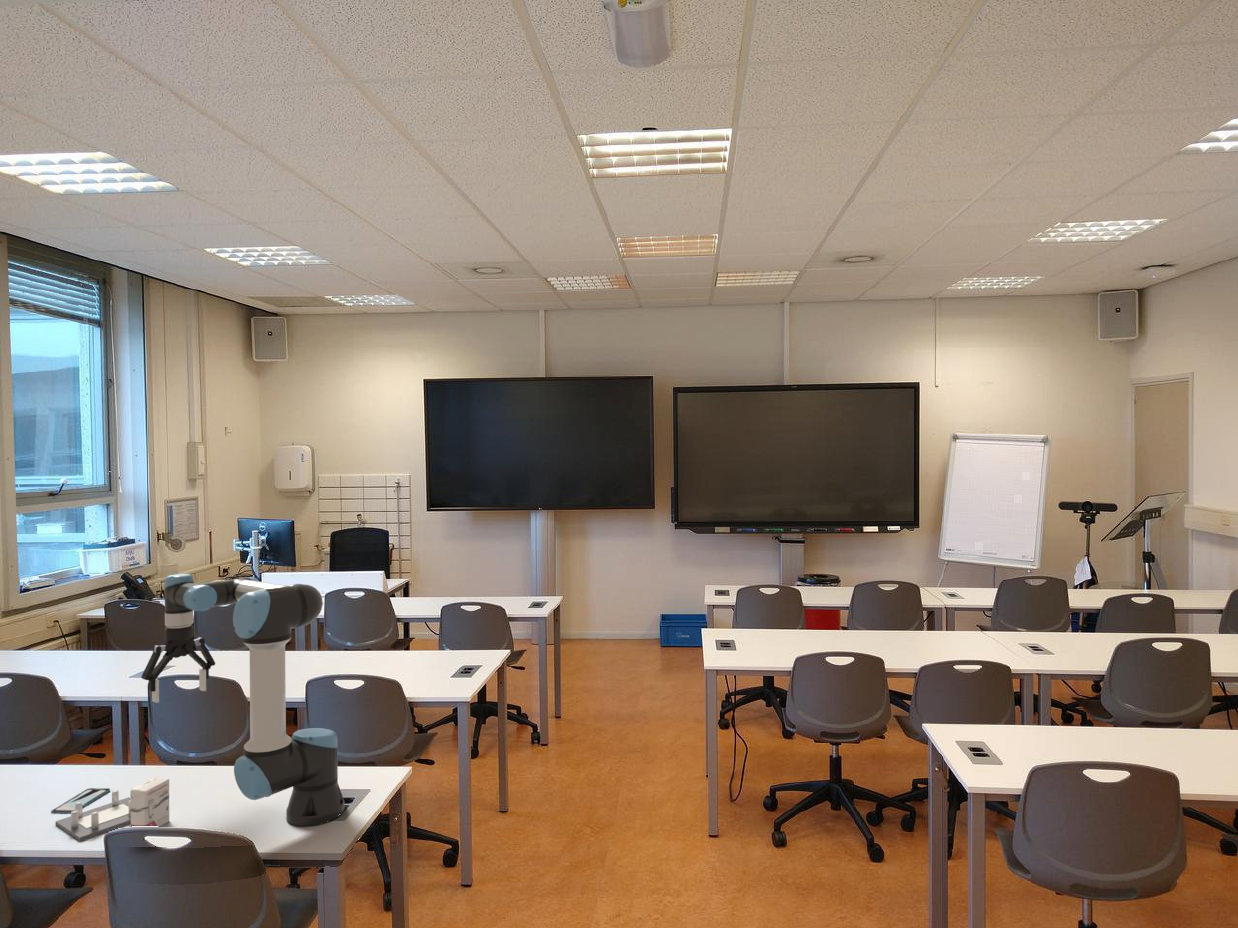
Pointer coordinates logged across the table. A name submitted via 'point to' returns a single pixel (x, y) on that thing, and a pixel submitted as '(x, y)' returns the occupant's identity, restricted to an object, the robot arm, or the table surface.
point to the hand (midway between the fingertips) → (179, 695)
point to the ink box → (150, 803)
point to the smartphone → (81, 799)
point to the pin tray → (102, 827)
